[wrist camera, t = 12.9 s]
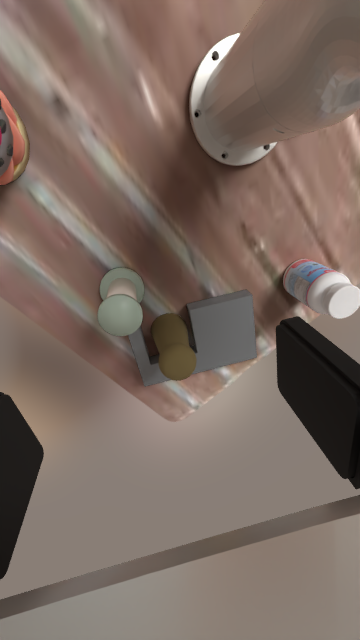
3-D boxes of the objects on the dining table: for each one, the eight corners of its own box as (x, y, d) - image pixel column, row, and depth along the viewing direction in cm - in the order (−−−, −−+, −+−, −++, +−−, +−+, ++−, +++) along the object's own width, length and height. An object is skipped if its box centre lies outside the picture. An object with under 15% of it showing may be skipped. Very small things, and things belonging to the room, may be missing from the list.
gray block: (246, 289, 45) (252, 294, 42) (251, 349, 50) (256, 357, 48) (125, 318, 44) (124, 326, 41) (144, 377, 49) (144, 386, 47)
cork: (188, 342, 47) (203, 382, 38) (153, 348, 47) (159, 391, 37) (185, 310, 45) (200, 345, 35) (148, 316, 44) (153, 354, 34)
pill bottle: (319, 257, 44) (374, 278, 34) (311, 293, 47) (359, 322, 37) (284, 258, 43) (330, 280, 33) (278, 294, 46) (318, 325, 36)
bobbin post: (137, 262, 40) (140, 285, 31) (148, 302, 43) (153, 333, 34) (94, 273, 40) (84, 298, 31) (108, 312, 43) (102, 345, 34)
